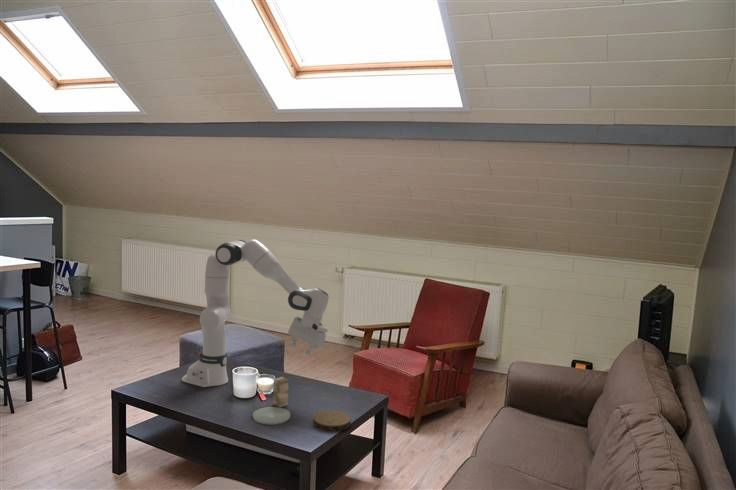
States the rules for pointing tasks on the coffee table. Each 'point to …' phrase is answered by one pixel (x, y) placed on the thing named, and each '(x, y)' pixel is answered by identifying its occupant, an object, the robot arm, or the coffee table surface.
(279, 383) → the birch block
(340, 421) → the brown round disc
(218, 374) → the robot arm
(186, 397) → the coffee table surface
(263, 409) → the dish
